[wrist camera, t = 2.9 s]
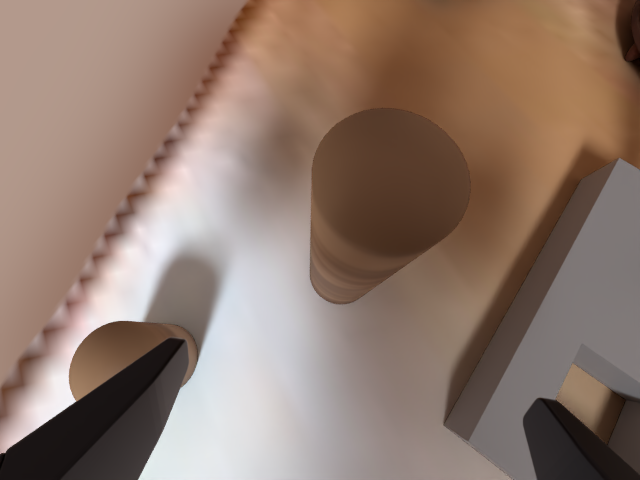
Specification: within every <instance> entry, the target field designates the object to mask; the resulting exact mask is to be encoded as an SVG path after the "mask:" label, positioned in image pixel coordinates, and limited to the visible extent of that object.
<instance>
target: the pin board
mask: <svg viewBox="0 0 640 480" xmlns="http://www.w3.org/2000/svg"><path fill="white" fill-rule="evenodd" d="M572 363H574V364H575V365H577V366H578V367H580V368H581V369H582V370H584V371H585V372H587V373H588V374H590V375H591V376H592V377H594V378H595V379H597V380H598V381H600V382H601V383H602V384H604V385H605V386H607V387H608V388H610V389H611V390H612V391H614V392H615V393H617V394H618V395H620V396H621V397H622V398H624V399H625V400H626V402H625V404H624V406H623V409H622V411H621V414H620V416H619V419H618V421H617V423H616V426H615V428H614V431H613V433H612V435H611V438H610V440H609V443H608V446H609V447H610V448H611V449H612V450H613V451H614V452H615V453H617V454H618V455H619V456H620V457H621V458H622V459H623V460H624V461H625V462H627V463H628V464H629V465H630V466H631V467H632V468H633V469H634V470H636V471H637V472H638V473H639V474H640V170H639V169H638V168H636V167H634V166H633V165H631V164H629V163H627V162H626V161H624V160H622V159H621V158H618V159H616V160H614V161H613V162H611V163H609V164H607V165H606V166H604V167H602V168H600V169H599V170H597V171H595V172H593V173H592V174H590V175H588V176H586V177H584V178H583V179H581V181H580V183H579V184H578V186H577V188H576V190H575V192H574V193H573V195H572V197H571V199H570V200H569V202H568V204H567V206H566V208H565V209H564V211H563V213H562V215H561V216H560V218H559V220H558V222H557V224H556V225H555V227H554V229H553V231H552V233H551V234H550V236H549V238H548V240H547V241H546V243H545V245H544V247H543V249H542V250H541V252H540V254H539V256H538V257H537V259H536V261H535V263H534V265H533V266H532V268H531V270H530V272H529V274H528V275H527V277H526V279H525V281H524V282H523V284H522V286H521V288H520V290H519V291H518V293H517V295H516V297H515V299H514V300H513V302H512V304H511V306H510V307H509V309H508V311H507V313H506V315H505V316H504V318H503V320H502V322H501V323H500V325H499V327H498V329H497V331H496V332H495V334H494V336H493V338H492V340H491V341H490V343H489V345H488V347H487V348H486V350H485V352H484V354H483V356H482V357H481V359H480V361H479V363H478V365H477V366H476V368H475V370H474V372H473V373H472V375H471V377H470V379H469V381H468V382H467V384H466V386H465V388H464V389H463V391H462V393H461V395H460V397H459V398H458V400H457V402H456V404H455V406H454V407H453V409H452V411H451V413H450V414H449V416H448V418H447V420H446V422H445V423H444V426H445V427H447V428H448V429H449V430H450V431H452V432H453V433H454V434H456V435H457V436H458V437H459V438H461V439H462V440H463V441H465V442H466V443H467V444H468V445H470V446H471V447H472V448H474V449H475V450H476V451H477V452H479V453H480V454H481V455H483V456H484V457H485V458H486V459H488V460H489V461H490V462H491V463H493V464H494V465H495V466H497V467H498V468H499V469H500V470H502V471H503V472H504V473H506V474H507V475H508V476H509V477H511V478H512V479H513V480H537V478H536V474H535V471H534V467H533V463H532V459H531V455H530V451H529V447H528V443H527V440H526V436H525V432H524V428H523V417H524V415H525V413H526V412H527V410H528V409H529V408H530V406H531V405H532V404H533V402H534V401H535V400H536V399H537V398H540V397H541V398H548V399H553V400H555V398H556V396H557V394H558V392H559V390H560V388H561V386H562V384H563V382H564V379H565V377H566V375H567V373H568V371H569V369H570V367H571V365H572Z"/></svg>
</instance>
